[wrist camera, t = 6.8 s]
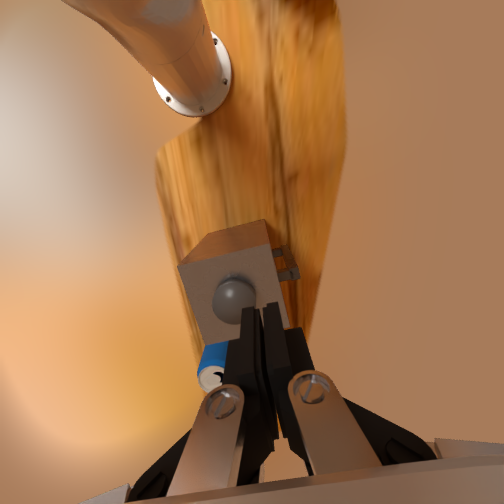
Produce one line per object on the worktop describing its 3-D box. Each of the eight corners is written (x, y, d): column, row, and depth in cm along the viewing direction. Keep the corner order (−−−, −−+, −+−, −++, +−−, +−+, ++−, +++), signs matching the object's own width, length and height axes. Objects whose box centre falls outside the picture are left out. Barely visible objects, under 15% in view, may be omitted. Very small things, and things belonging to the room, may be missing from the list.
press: (207, 233, 47) (176, 266, 29) (278, 215, 46) (293, 237, 28) (224, 285, 50) (205, 345, 32) (291, 269, 49) (312, 322, 31)
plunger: (213, 238, 46) (183, 278, 27) (260, 226, 45) (263, 258, 26) (226, 282, 48) (207, 346, 30) (271, 272, 47) (281, 330, 29)
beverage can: (244, 342, 54) (241, 386, 42) (219, 355, 55) (209, 401, 43) (228, 319, 52) (220, 358, 40) (202, 332, 53) (187, 374, 41)
